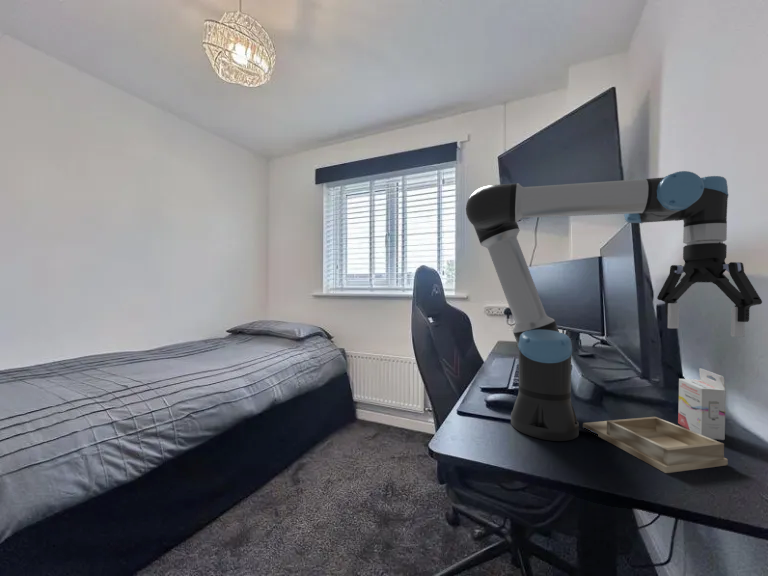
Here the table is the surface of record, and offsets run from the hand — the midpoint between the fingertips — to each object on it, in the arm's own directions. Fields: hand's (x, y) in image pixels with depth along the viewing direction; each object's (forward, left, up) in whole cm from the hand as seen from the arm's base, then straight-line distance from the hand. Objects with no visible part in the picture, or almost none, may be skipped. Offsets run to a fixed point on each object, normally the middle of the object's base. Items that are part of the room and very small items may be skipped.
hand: (702, 332), depth 80 cm
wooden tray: (+3, -19, -24) cm, 31 cm away
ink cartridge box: (0, 0, -24) cm, 24 cm away
